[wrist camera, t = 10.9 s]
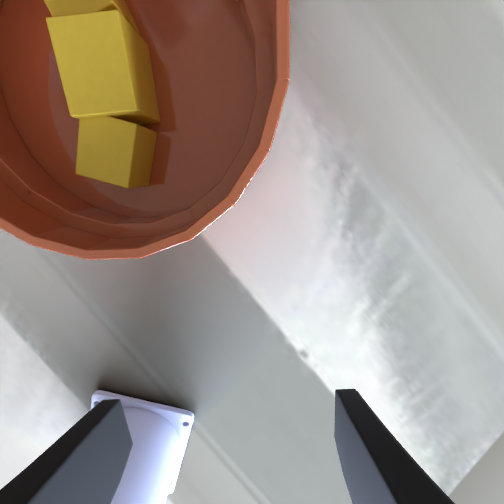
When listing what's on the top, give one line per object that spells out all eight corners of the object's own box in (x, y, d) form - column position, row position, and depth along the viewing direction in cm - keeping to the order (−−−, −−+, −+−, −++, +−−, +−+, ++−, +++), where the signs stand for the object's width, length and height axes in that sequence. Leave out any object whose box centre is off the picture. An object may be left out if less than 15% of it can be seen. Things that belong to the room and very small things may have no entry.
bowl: (237, 262, 17) (228, 297, 12) (-12, 194, 16) (-126, 204, 11) (321, -41, 12) (361, -175, 8) (-21, -161, 11) (-221, -399, 7)
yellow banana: (171, 184, 15) (150, 186, 12) (108, 188, 15) (74, 192, 12) (133, -48, 12) (94, -117, 9) (56, -39, 12) (-6, -104, 9)
